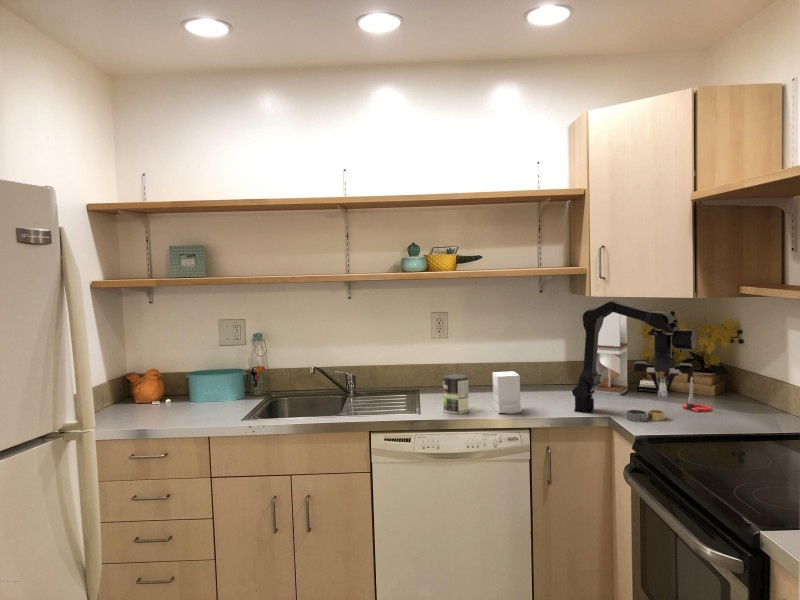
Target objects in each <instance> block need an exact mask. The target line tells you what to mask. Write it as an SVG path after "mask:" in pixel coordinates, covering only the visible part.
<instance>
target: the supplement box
mask: <svg viewBox="0 0 800 600" xmlns="http://www.w3.org/2000/svg"><path fill="white" fill-rule="evenodd" d="M520 379H521V377H520V375H519V374H518V373H517V372H515V371H514V370H513V371H511V370H510V371H495V372H494V371H493V372H492V394H493V395H492V396H493V397H492V398H493V399H492V400H493V409H494V411H496V413H507V414H512V413H511V412H521V413H522V410H521V380H520Z"/></svg>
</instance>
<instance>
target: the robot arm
mask: <svg viewBox="0 0 800 600" xmlns="http://www.w3.org/2000/svg"><path fill="white" fill-rule="evenodd" d="M613 312H614V313H617V314H621V315H624V316H627V318H631V319H635V320H637V321H638V320H639V321H642V322H644V323H645V324H646V325H648V326H650V327H651V329H650V331H648V332H647V335H649V336H653V363H652V364H651V363H647V361H643V360H642V361H640V360H639V361H638V360H637V361H636V360H635V362H634V363H633V372H642V373H644V371H646V374H647V375H650V377H651V379H652V381H653V384H654V386H655V389H656V392H658V374H657V373H660V372H661V373H668V380H667V393H669V392H670V389H671V386H672V383H673V382H674V379H675V377H676V376H679V375H680V373H681V374H684V375H693V365H692V363H689V362H688V363H687V362H679V365H678V364H677V357H676V358H675V357H672V356H673V355H672V347H674V349H676V350H687V351H688V350H689V351H694V350H696V347H697V337H696V334H695V330H694V329H681V328H680V327H679V326H678V325H677V323H676V322H675V321H674V317H673V315H672V313H671V312H668V311H661V310H648V309H644V308H642V307H641V308H640V307H637V306H634V305H631V304H630V305H629V304H626V303H622V302H618V301H617V300H609V301H607V302H605V303H603V304H601V305H600V306H598V307H596V308H594V309H593V308H592V309H588V310H586V311H585V312H584V313H583V314H582V325H583V328H584V331H585V340H584V341H585V342H584V357H583V367H582V368H583V369H582V370H581V373H580V375H579V378H578V382H577V386H575V387H574V388H573V389H572V391H571V392H572V396H573V397H574V409H573V410H574V411H573V412H577V411H578V412H579V413H580V412H581V413H589V414H590V413H593V411H594V410H595V398H594V397H593V395H594V392H595V390H596V389H597V388H598V387H599V385H600V384H601V382H600V378H601V374H598V373H597V370H596V362H597V348H598V335H599V331H600V329H601V327H602V324H603V320H604V318H605V317H606V316H608V315H610V314H611V313H613Z"/></svg>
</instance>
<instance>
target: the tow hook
mask: <svg viewBox="0 0 800 600" xmlns="http://www.w3.org/2000/svg"><path fill="white" fill-rule="evenodd" d="M688 394H689V395H688V402H687V403H686V404H682V409H685V410H688V411H690V410H691V412H695V413H699V412H711V411H712V407H711V406H708V405H704V404H695V403H694V396H693V395H694V376H690V381H689V391H688ZM702 407H703V408H702Z"/></svg>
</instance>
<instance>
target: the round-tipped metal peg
mask: <svg viewBox="0 0 800 600" xmlns="http://www.w3.org/2000/svg"><path fill="white" fill-rule="evenodd" d="M657 380H658V391H657V397H658V398H659V399H667V398H668V392H667V387H668V380H669V377H666V376H657Z"/></svg>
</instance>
